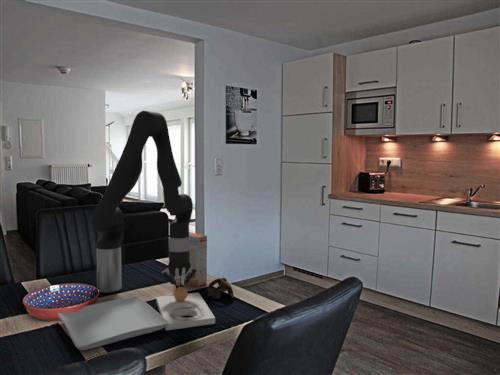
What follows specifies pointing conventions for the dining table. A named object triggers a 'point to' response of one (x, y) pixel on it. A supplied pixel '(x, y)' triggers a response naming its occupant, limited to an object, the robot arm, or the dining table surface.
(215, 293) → the brown openwork arch
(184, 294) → the ball
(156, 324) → the square plate
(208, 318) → the white flat slab
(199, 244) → the cracker box
